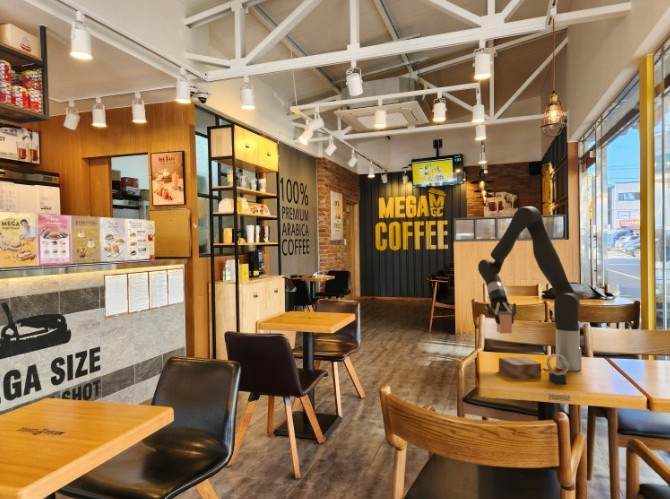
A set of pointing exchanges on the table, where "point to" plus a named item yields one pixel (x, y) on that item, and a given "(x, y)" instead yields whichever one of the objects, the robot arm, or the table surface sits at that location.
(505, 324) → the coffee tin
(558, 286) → the robot arm
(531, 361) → the walnut block
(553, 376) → the watch
